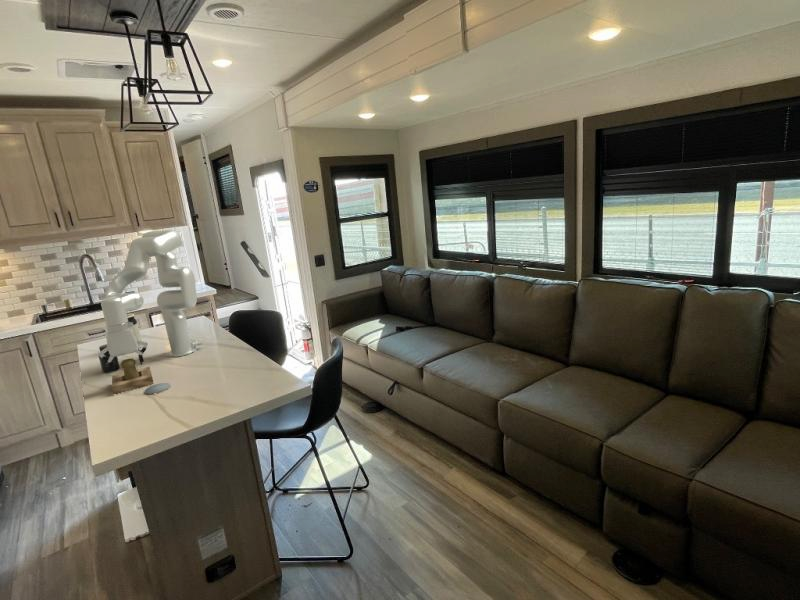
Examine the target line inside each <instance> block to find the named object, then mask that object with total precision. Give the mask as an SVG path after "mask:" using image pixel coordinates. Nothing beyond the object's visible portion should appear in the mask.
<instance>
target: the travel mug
mask: <svg viewBox="0 0 800 600" xmlns="http://www.w3.org/2000/svg"><path fill="white" fill-rule="evenodd" d="M126 314H127V318H128V322H133V325H131V326H130V328H132V329H133V331H134V334H135V336H136V340H137V341H142V337H141V333H140V328H139V325H138V322H137V319H135V314H134V313H126ZM142 342H143V341H142ZM141 347H142V348H143V345H139V344H138V349H139V348H140V349H142V348H141ZM140 349H139V350H140Z"/></svg>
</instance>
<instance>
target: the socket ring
mask: <svg viewBox="0 0 800 600" xmlns="http://www.w3.org/2000/svg"><path fill="white" fill-rule="evenodd" d="M137 372H138V374H139V376H140V377H138V378H134V379H130V380H126V381H125V377H124V372H121V373H118V374H114V375H111V389H112V392H113V395H114V394H116V395H119V394H118V393H120V394H122V393H121V392H124V393H127V392H131V391H134V390H133V389H135V390H138V389H141V388H145V386H146V387H149V386H153V385H155V383H153V382H154V379H153V375H152V370H151V366H150V365H149V366H147V367H142V368H139V369H137ZM152 384H153V385H152ZM148 385H149V386H148ZM137 388H138V389H137ZM130 390H131V391H130ZM126 391H127V392H126Z"/></svg>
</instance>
